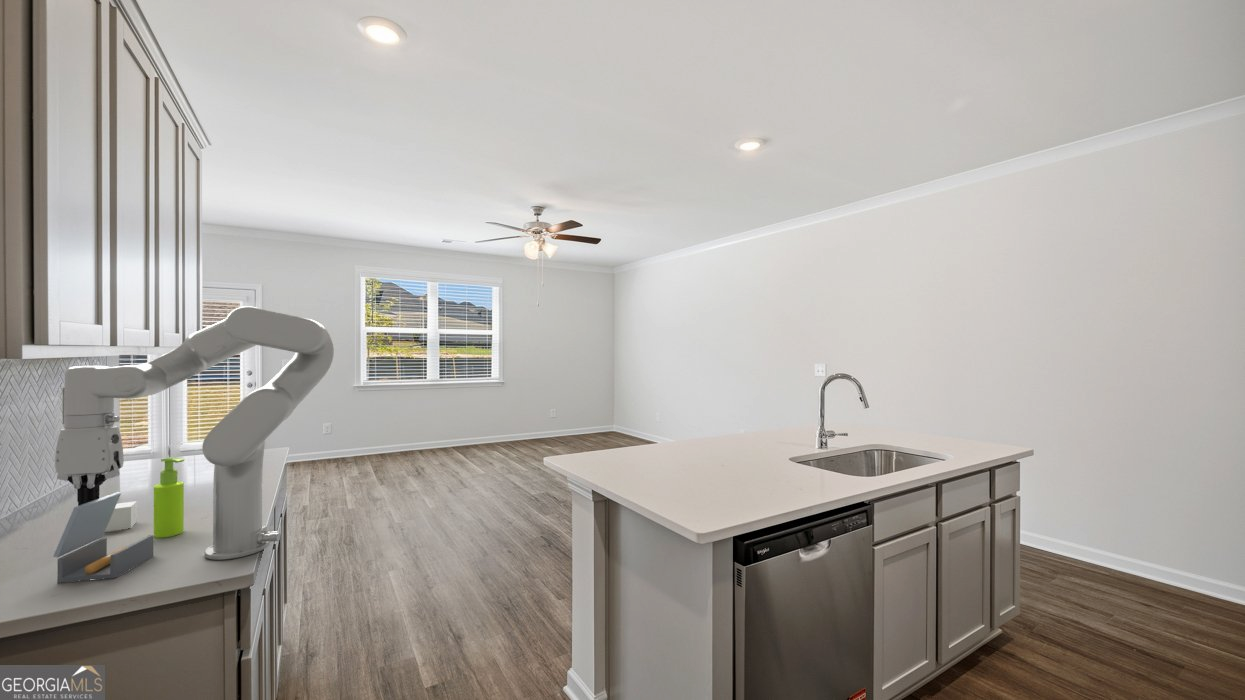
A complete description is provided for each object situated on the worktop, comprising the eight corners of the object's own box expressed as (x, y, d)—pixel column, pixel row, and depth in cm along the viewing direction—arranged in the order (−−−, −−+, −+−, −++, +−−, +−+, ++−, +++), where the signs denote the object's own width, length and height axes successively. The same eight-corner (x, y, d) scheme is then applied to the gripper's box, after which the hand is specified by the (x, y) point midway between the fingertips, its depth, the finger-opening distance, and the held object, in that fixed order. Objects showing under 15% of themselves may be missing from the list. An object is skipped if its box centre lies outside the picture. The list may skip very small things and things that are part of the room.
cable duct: (153, 556, 120) (153, 534, 120) (114, 578, 108) (114, 554, 108) (102, 559, 118) (102, 538, 118) (57, 583, 106) (57, 559, 106)
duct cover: (121, 492, 118) (117, 491, 118) (78, 508, 107) (74, 507, 106) (102, 536, 118) (98, 535, 117) (57, 557, 106) (53, 556, 106)
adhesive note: (136, 522, 143) (137, 501, 143) (131, 528, 138) (131, 506, 138) (107, 526, 140) (107, 504, 140) (100, 532, 135) (100, 510, 135)
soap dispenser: (168, 539, 131) (169, 461, 131) (147, 536, 132) (147, 459, 132) (192, 531, 136) (192, 456, 136) (171, 529, 138) (171, 455, 138)
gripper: (141, 418, 117) (140, 498, 117) (63, 420, 114) (61, 502, 114) (116, 423, 110) (115, 508, 110) (32, 425, 107) (31, 512, 107)
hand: (88, 505), depth 112 cm, fingers closed
